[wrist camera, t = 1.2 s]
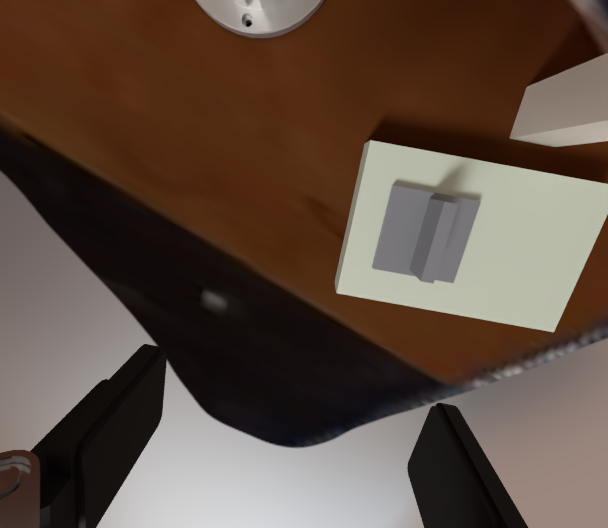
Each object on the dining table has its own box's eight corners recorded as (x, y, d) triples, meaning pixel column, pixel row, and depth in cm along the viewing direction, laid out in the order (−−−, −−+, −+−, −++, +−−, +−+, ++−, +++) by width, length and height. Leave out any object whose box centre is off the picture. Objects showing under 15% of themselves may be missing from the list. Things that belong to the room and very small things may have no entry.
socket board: (364, 143, 27) (370, 140, 24) (587, 185, 27) (620, 186, 24) (334, 281, 31) (336, 293, 28) (531, 317, 31) (553, 332, 28)
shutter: (392, 185, 25) (404, 186, 21) (477, 200, 25) (502, 204, 21) (371, 266, 27) (379, 280, 23) (450, 281, 27) (470, 296, 23)
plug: (526, 86, 25) (703, 12, 14) (574, 95, 25) (790, 29, 14) (509, 138, 26) (658, 110, 15) (554, 147, 26) (738, 125, 15)
